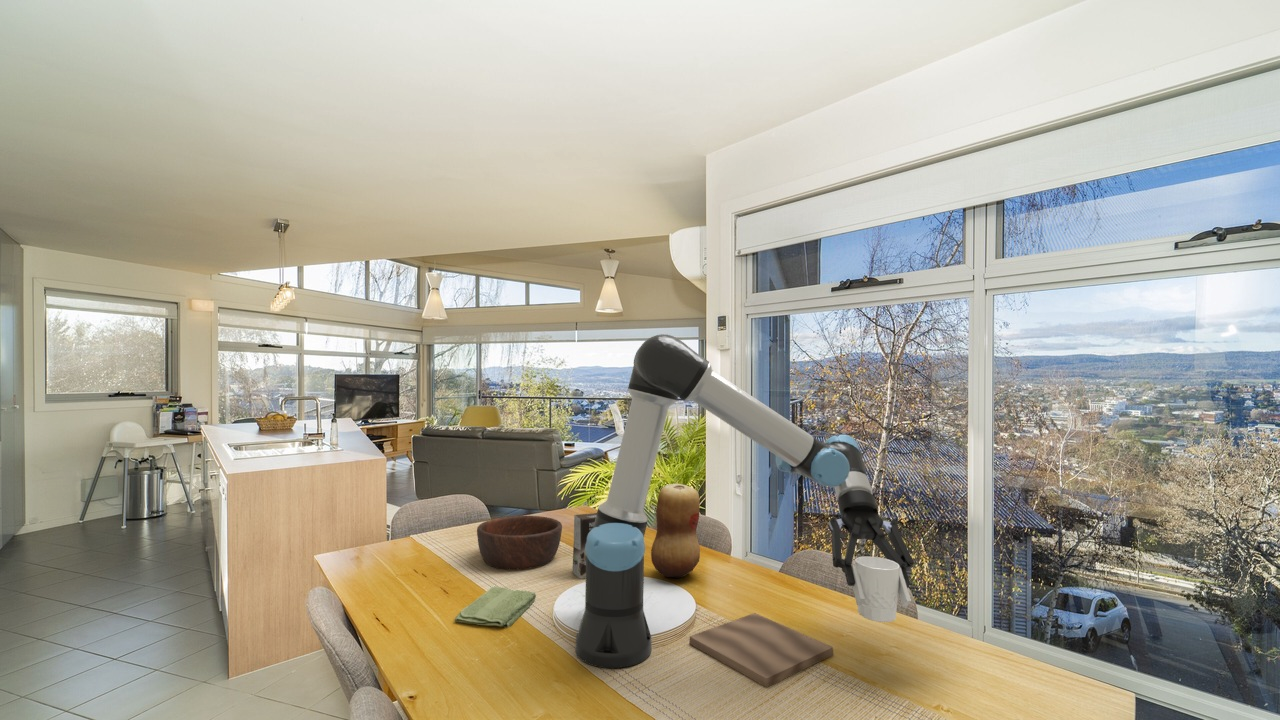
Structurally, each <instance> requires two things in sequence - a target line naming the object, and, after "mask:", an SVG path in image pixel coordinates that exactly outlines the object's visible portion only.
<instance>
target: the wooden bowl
mask: <svg viewBox="0 0 1280 720" xmlns="http://www.w3.org/2000/svg"><path fill="white" fill-rule="evenodd" d="M562 530H563V525H562V522H561V521H559V520H557V519H555V518H551V517H547V516H539V515H515V516H514V515H513V516H511V515H510V516H503V517H502V516H501V517H497V518H493V519H489V520H487V521H484V522H482V523H480V524H479V525H478V526H477V528H476V536H477V543H478V549H479V553H480V555H481V557H482V560H483V561H484V563H486V564H487V565H488V566H490V567H492V568H495V569H500V570H527V569H528V570H529V569H533V568H538V567H541V566H544V565H547V564H548V563H550V562H551V561H552V560H553V559H554V557H555V556H556V554H557V551H558V549H559V546H560V542H561V538H562Z"/></svg>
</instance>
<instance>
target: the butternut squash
mask: <svg viewBox="0 0 1280 720" xmlns="http://www.w3.org/2000/svg"><path fill="white" fill-rule="evenodd" d="M700 502H701V500H700V495H699V491H698V490H696V489H695V488H693V487H692V486H688V485H686V484H681V483H670V484H666V485H664V486H662V487H661V489H660V491H659V494H658V496H657V503H656V510H655V515H656V516H655V518H656V534H655V538H654V540H653V542H652V546H651V552H650V557H651V558H650V559H651V563H652V565H653V567H654V569H655V570H656V571H657V572H658V573H659V574H660V575H662V576H664V577H666V578H680V579H681V578H684V577H686V576H687V575H688V574H690V573H691V572H693V570H694V569H695V568H696V566H697V565H698V563H699V562H700V558H701V548H700V547H701V546H700V544H699V540H698V537H697V529H698V524H699V519H700V504H701V503H700Z"/></svg>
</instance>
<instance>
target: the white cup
mask: <svg viewBox="0 0 1280 720" xmlns="http://www.w3.org/2000/svg"><path fill="white" fill-rule="evenodd" d="M854 562H855V563H854V564H855V566H856V567H857V570H858V574H859V578H860V582H861V586H862V590H863V594H864V598H865V599H864V601H863V603H862V604H861V605H857V612H858V614H859V615H860V616H861V617H862V618H864V619H867V620H870V621H873V622H878V623H890V622H894V621H895V620H896V619H897V609H898V608H897V605H898V600H899V599H898V596H899V594H898V588H899V569H900V566H899V564H898V563H896V562H894V561H891V560H888V559H887V558H886V557H884V558H883V557H878V556H867V555H866V556H865V555H864V556H859V557H857V558H855V560H854Z"/></svg>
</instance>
